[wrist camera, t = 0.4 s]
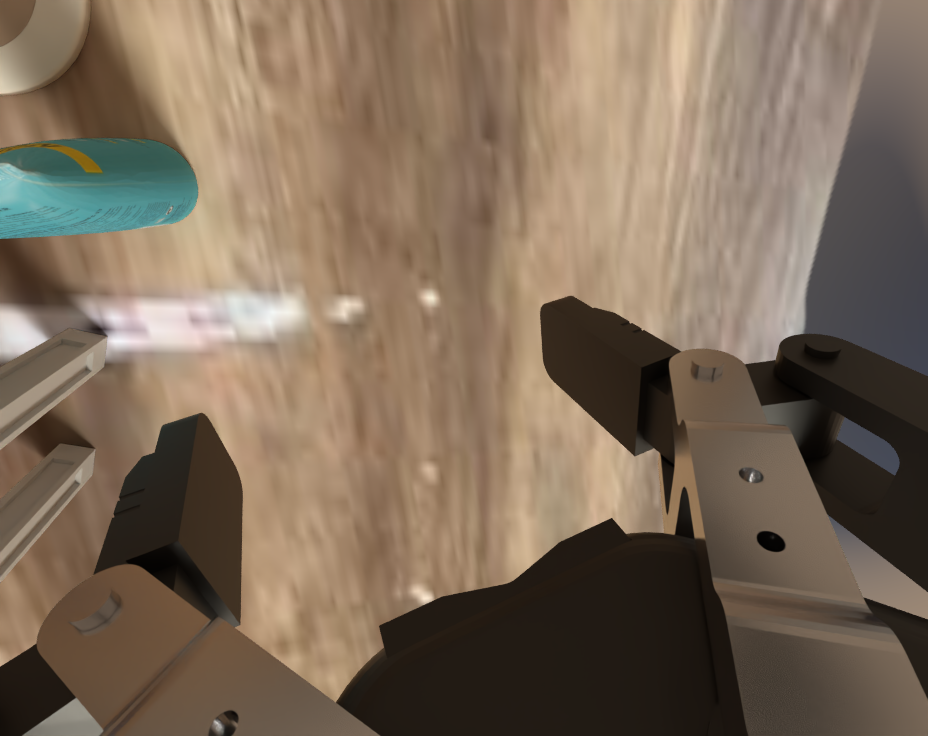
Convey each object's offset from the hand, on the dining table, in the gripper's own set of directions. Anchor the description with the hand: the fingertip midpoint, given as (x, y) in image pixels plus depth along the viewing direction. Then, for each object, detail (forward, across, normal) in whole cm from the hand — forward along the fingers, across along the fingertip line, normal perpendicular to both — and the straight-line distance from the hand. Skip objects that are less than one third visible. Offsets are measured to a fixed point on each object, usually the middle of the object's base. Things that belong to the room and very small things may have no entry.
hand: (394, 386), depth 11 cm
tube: (+26, +8, -3) cm, 28 cm away
